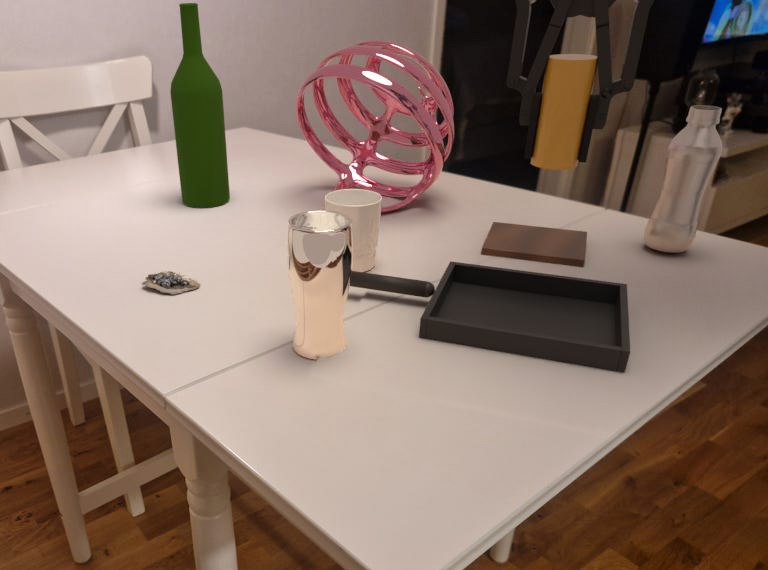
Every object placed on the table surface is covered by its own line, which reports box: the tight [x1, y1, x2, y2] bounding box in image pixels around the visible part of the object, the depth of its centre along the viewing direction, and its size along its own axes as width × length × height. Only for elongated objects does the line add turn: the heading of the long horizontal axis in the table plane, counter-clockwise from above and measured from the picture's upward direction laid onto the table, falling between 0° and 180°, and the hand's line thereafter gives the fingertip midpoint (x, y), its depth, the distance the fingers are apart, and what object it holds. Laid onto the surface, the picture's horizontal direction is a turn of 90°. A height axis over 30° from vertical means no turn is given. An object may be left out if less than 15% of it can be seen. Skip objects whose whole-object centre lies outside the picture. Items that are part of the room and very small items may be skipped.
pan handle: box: [349, 271, 436, 299], centre depth 83 cm, size 12×2×2 cm, turn 67°
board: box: [480, 221, 588, 268], centre depth 99 cm, size 14×12×2 cm
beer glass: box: [286, 209, 353, 361], centre depth 71 cm, size 7×7×15 cm
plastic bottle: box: [643, 104, 723, 254], centre depth 92 cm, size 6×7×20 cm
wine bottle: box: [169, 2, 231, 209], centre depth 115 cm, size 9×9×32 cm
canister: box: [530, 53, 598, 171], centre depth 71 cm, size 5×5×11 cm
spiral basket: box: [295, 39, 456, 214], centre depth 113 cm, size 28×28×27 cm
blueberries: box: [141, 270, 201, 296], centre depth 90 cm, size 7×8×2 cm
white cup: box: [324, 188, 383, 273], centre depth 93 cm, size 8×8×10 cm
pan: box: [418, 261, 631, 374], centre depth 78 cm, size 22×18×3 cm
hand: (555, 157), depth 73 cm, fingers closed on canister, 5 cm apart
